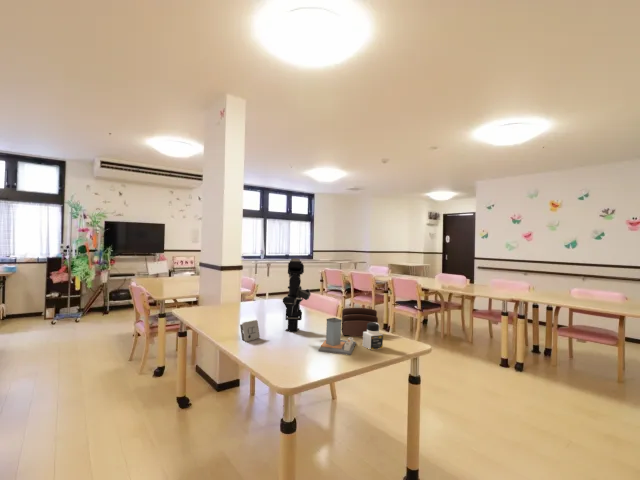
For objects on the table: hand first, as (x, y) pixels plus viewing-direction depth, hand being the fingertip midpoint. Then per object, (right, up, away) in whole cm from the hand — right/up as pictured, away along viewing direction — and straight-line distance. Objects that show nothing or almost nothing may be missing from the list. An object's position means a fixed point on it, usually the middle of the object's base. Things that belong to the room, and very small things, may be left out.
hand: (293, 314), depth 174 cm
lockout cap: (+20, -12, -13) cm, 27 cm away
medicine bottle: (+40, -14, -12) cm, 44 cm away
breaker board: (+23, -13, -14) cm, 30 cm away
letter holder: (+36, -14, +11) cm, 40 cm away
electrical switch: (-22, -11, -7) cm, 26 cm away
